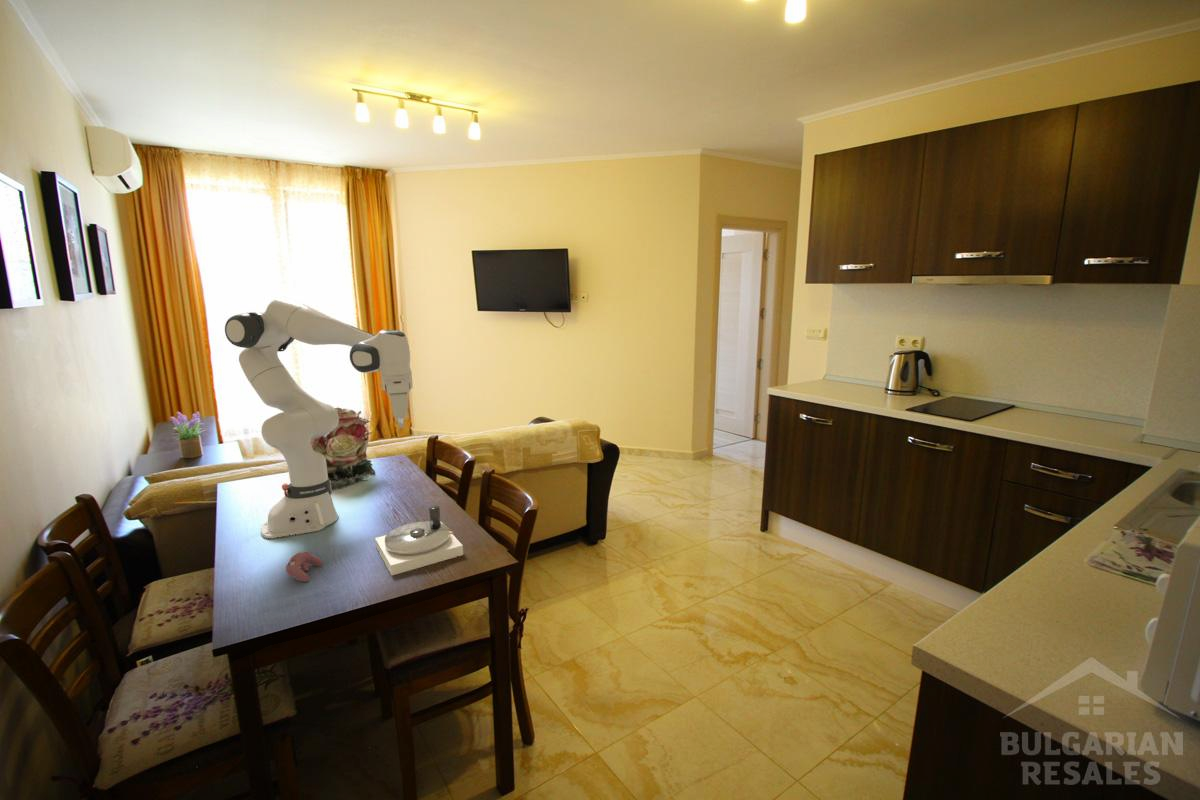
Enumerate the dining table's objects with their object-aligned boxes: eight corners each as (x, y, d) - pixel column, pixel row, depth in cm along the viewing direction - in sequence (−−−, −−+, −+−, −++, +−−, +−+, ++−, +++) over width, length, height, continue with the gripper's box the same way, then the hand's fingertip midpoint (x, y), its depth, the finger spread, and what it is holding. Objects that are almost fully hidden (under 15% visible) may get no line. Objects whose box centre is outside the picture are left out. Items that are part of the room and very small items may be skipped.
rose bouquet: (295, 480, 219) (286, 409, 213) (367, 464, 239) (360, 398, 233) (315, 496, 201) (306, 419, 195) (391, 477, 221) (384, 407, 215)
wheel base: (391, 575, 144) (390, 564, 143) (376, 547, 160) (374, 537, 160) (464, 554, 155) (463, 544, 154) (442, 530, 171) (441, 520, 171)
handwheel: (409, 561, 145) (407, 534, 143) (372, 544, 155) (369, 518, 153) (462, 537, 159) (460, 511, 157) (424, 522, 169) (422, 498, 168)
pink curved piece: (310, 570, 151) (296, 550, 149) (324, 562, 151) (310, 543, 149) (294, 589, 141) (278, 568, 139) (309, 581, 141) (294, 560, 139)
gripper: (385, 379, 171) (389, 420, 174) (386, 389, 153) (390, 435, 155) (406, 377, 174) (410, 418, 176) (409, 387, 155) (413, 433, 158)
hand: (401, 427), depth 166 cm, fingers closed
